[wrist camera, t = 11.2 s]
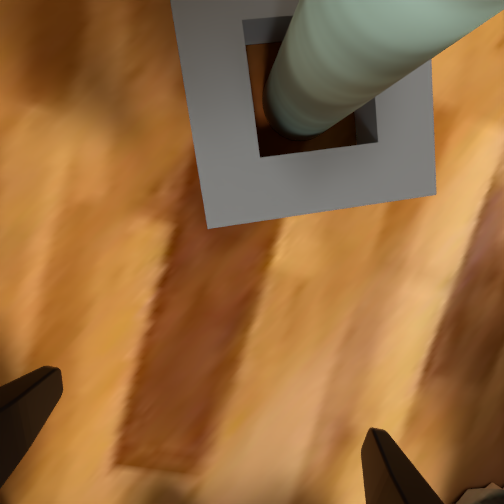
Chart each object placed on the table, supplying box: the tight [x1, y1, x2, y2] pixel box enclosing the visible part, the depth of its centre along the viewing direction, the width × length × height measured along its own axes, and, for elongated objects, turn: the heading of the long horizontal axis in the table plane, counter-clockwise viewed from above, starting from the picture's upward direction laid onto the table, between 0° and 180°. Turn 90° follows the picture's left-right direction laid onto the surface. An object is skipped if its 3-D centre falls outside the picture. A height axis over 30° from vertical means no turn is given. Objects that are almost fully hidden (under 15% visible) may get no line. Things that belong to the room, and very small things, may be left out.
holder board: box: [170, 0, 436, 229], centre depth 17 cm, size 13×13×2 cm
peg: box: [262, 0, 504, 141], centre depth 12 cm, size 4×4×13 cm
